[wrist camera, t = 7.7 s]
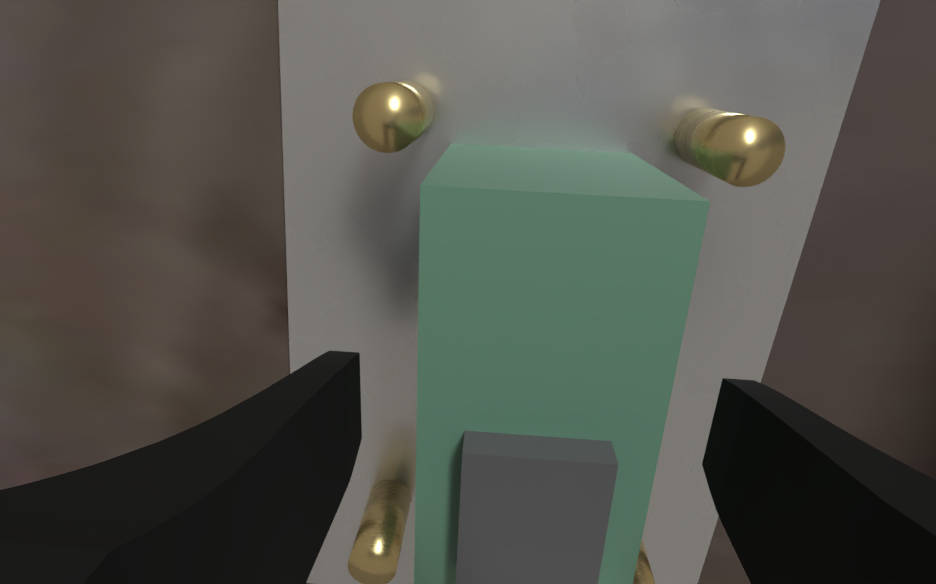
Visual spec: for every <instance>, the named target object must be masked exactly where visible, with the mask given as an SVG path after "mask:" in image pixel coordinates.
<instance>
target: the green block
mask: <svg viewBox="0 0 936 584" xmlns="http://www.w3.org/2000/svg"><path fill="white" fill-rule="evenodd" d="M709 206H710V201H709V200H707V199H705V198H704V197H702V196H701V195H699V194H697V193H696V192H694V191H692V190H691V189H689V188H688V187H686V186H684V185H683V184H681V183H680V182H678V181H676V180H675V179H673V178H671V177H670V176H668V175H667V174H665V173H663V172H662V171H660V170H658V169H657V168H655V167H654V166H652V165H650V164H649V163H647V162H646V161H644V160H642V159H641V158H639V157H637V156H636V155H634V154H633V153H615V152H596V151H578V150H559V149H541V148H522V147H504V146H485V145H467V144H450V145H449V147H448V148H447V149H446V151H445V152H444V153H443V155H442V156H441V158H440V159H439V160H438V162H437V163H436V164H435V166H434V167H433V168H432V170H431V171H430V172H429V174H428V175H427V176H426V178H425V179H424V181H423V182H422V183H421V185H420V228H419V293H418V358H417V424H416V489H415V554H414V584H633V580H634V575H635V570H636V565H637V560H638V555H639V550H640V546H641V541H642V536H643V531H644V526H645V521H646V516H647V511H648V506H649V501H650V496H651V491H652V486H653V482H654V477H655V472H656V467H657V462H658V457H659V452H660V447H661V442H662V437H663V432H664V427H665V422H666V418H667V413H668V408H669V403H670V398H671V393H672V388H673V383H674V378H675V373H676V368H677V363H678V358H679V354H680V349H681V344H682V339H683V334H684V329H685V324H686V319H687V314H688V309H689V304H690V299H691V294H692V290H693V285H694V280H695V275H696V270H697V265H698V260H699V255H700V250H701V245H702V240H703V235H704V230H705V225H706V221H707V216H708V211H709Z"/></svg>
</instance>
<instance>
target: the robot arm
mask: <svg viewBox="0 0 936 584" xmlns="http://www.w3.org/2000/svg"><path fill="white" fill-rule="evenodd" d="M361 439H362V423H361V386H360V353H358V352H344V351H328V352H326V353H324V354H322V355H320V356H319V357H317V358H315V359H314V360H312V361H310V362H309V363H307V364H305V365H304V366H302V367H301V368H299V369H297V370H296V371H294V372H293V373H291V374H289V375H288V376H286V377H284V378H283V379H281V380H280V381H278V382H276V383H275V384H273V385H271V386H270V387H268V388H267V389H265V390H263V391H261V392H260V393H258V394H256V395H254V396H252V397H251V398H249V399H247V400H245V401H243V402H241V403H240V404H238V405H236V406H234V407H232V408H231V409H229V410H227V411H225V412H223V413H221V414H219V415H217V416H215V417H213V418H211V419H209V420H207V421H205V422H203V423H201V424H199V425H197V426H195V427H192V428H190V429H188V430H185V431H183V432H181V433H178V434H176V435H174V436H172V437H169V438H167V439H164V440H162V441H159V442H157V443H154V444H151V445H149V446H146V447H143V448H140V449H137V450H135V451H132V452H129V453H126V454H124V455H121V456H118V457H115V458H112V459H110V460H107V461H104V462H101V463H98V464H95V465H92V466H88V467H85V468H82V469H78V470H75V471H72V472H68V473H65V474H61V475H58V476H54V477H50V478H47V479H43V480H39V481H36V482H32V483H28V484H24V485H20V486H16V487H12V488H8V489H4V490H0V584H306V582H307V580H308V577H309V575H310V573H311V570H312V568H313V566H314V563H315V561H316V559H317V556H318V554H319V552H320V550H321V547H322V545H323V543H324V540H325V538H326V536H327V533H328V531H329V529H330V527H331V524H332V522H333V520H334V517H335V515H336V513H337V510H338V508H339V506H340V503H341V501H342V499H343V496H344V494H345V492H346V489H347V487H348V484H349V482H350V479H351V476H352V472H353V469H354V465H355V462H356V458H357V454H358V451H359V447H360V443H361ZM702 466H703V469H704V473H705V476H706V480H707V483H708V486H709V490H710V493H711V496H712V499H713V502H714V505H715V508H716V511H717V513H718V515H719V517H720V519H721V522H722V524H723V526H724V528H725V530H726V532H727V534H728V537H729V539H730V541H731V543H732V545H733V547H734V549H735V551H736V553H737V555H738V558H739V560H740V562H741V564H742V566H743V568H744V570H745V572H746V574H747V576H748V578H749V580H750V582H751V584H936V480H935V479H933V478H931V477H929V476H927V475H925V474H923V473H921V472H919V471H917V470H915V469H913V468H911V467H909V466H907V465H905V464H904V463H902V462H900V461H898V460H896V459H894V458H892V457H890V456H889V455H887V454H885V453H883V452H881V451H879V450H877V449H876V448H874V447H872V446H870V445H868V444H867V443H865V442H863V441H861V440H860V439H858V438H856V437H854V436H853V435H851V434H849V433H847V432H846V431H844V430H842V429H841V428H839V427H837V426H835V425H834V424H832V423H830V422H829V421H827V420H825V419H824V418H822V417H820V416H819V415H817V414H815V413H813V412H812V411H810V410H808V409H807V408H805V407H803V406H802V405H800V404H798V403H797V402H795V401H793V400H791V399H790V398H788V397H786V396H784V395H783V394H781V393H779V392H777V391H775V390H774V389H772V388H770V387H768V386H766V385H764V384H762V383H759V382H757V381H755V380H742V379H728V378H722V383H721V387H720V391H719V395H718V399H717V403H716V408H715V412H714V416H713V420H712V424H711V428H710V433H709V437H708V441H707V445H706V449H705V454H704V458H703V462H702Z"/></svg>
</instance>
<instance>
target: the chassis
mask: <svg viewBox="0 0 936 584" xmlns="http://www.w3.org/2000/svg"><path fill="white" fill-rule="evenodd" d="M879 3H880V0H278V13H279V44H280V75H281V105H282V136H283V166H284V197H285V228H286V258H287V289H288V319H289V350H290V374H291V373H293V372H294V371H296V370H297V369H299V368H301V367H302V366H304V365H305V364H307V363H309V362H310V361H312V360H314V359H315V358H317V357H319V356H320V355H322V354H324V353H326V352H328V351H344V352H358V353H360V386H361V423H362V439H361V443H360V447H359V451H358V454H357V458H356V462H355V465H354V469H353V472H352V476H351V479H350V482H349V484H348V487H347V489H346V492H345V494H344V496H343V499H342V501H341V503H340V506H339V508H338V510H337V513H336V515H335V517H334V520H333V522H332V524H331V527H330V529H329V531H328V533H327V536H326V538H325V540H324V543H323V545H322V547H321V550H320V552H319V554H318V556H317V559H316V561H315V563H314V566H313V568H312V570H311V573H310V575H309V577H308V580H307V582H306V583H311V584H414V554H415V489H416V424H417V358H418V293H419V228H420V185H421V183H422V182H423V181H424V179H425V178H426V176H427V175H428V174H429V172H430V171H431V170H432V168H433V167H434V166H435V164H436V163H437V162H438V160H439V159H440V158H441V156H442V155H443V153H444V152H445V151H446V149H447V148H448V147H449V145H450V144H467V145H485V146H504V147H522V148H541V149H559V150H578V151H596V152H615V153H633V154H634V155H636V156H637V157H639V158H641V159H642V160H644V161H646V162H647V163H649V164H650V165H652V166H654V167H655V168H657V169H658V170H660V171H662V172H663V173H665V174H667V175H668V176H670V177H671V178H673V179H675V180H676V181H678V182H680V183H681V184H683V185H684V186H686V187H688V188H689V189H691V190H692V191H694V192H696V193H697V194H699V195H701V196H702V197H704V198H705V199H707V200H709V201H710V206H709V211H708V216H707V221H706V225H705V230H704V235H703V240H702V245H701V250H700V255H699V260H698V265H697V270H696V275H695V280H694V285H693V290H692V294H691V299H690V304H689V309H688V314H687V319H686V324H685V329H684V334H683V339H682V344H681V349H680V354H679V358H678V363H677V368H676V373H675V378H674V383H673V388H672V393H671V398H670V403H669V408H668V413H667V418H666V422H665V427H664V432H663V437H662V442H661V447H660V452H659V457H658V462H657V467H656V472H655V477H654V482H653V486H652V491H651V496H650V501H649V506H648V511H647V516H646V521H645V526H644V531H643V536H642V541H641V546H640V550H639V555H638V560H637V565H636V570H635V575H634V580H633V584H697V583H698V580H699V577H700V574H701V570H702V567H703V564H704V561H705V558H706V555H707V551H708V548H709V545H710V542H711V539H712V535H713V532H714V529H715V526H716V523H717V519H718V516H719V515H718V513H717V511H716V508H715V505H714V502H713V499H712V496H711V493H710V490H709V486H708V483H707V480H706V476H705V473H704V469H703V466H702V462H703V458H704V454H705V449H706V445H707V441H708V437H709V433H710V428H711V424H712V420H713V416H714V412H715V408H716V403H717V399H718V395H719V391H720V387H721V383H722V378H728V379H742V380H755V381H757V382H759V383H760V382H761V379H762V376H763V373H764V370H765V367H766V363H767V360H768V357H769V354H770V351H771V347H772V344H773V341H774V338H775V335H776V332H777V328H778V325H779V322H780V319H781V316H782V312H783V309H784V306H785V303H786V300H787V296H788V293H789V290H790V287H791V284H792V281H793V277H794V274H795V271H796V268H797V265H798V261H799V258H800V255H801V252H802V249H803V245H804V242H805V239H806V236H807V233H808V230H809V226H810V223H811V220H812V217H813V214H814V210H815V207H816V204H817V201H818V198H819V195H820V191H821V188H822V185H823V182H824V179H825V175H826V172H827V169H828V166H829V163H830V159H831V156H832V153H833V150H834V147H835V144H836V140H837V137H838V134H839V131H840V128H841V124H842V121H843V118H844V115H845V112H846V108H847V105H848V102H849V99H850V96H851V93H852V89H853V86H854V83H855V80H856V77H857V73H858V70H859V67H860V64H861V61H862V57H863V54H864V51H865V48H866V45H867V42H868V38H869V35H870V32H871V29H872V26H873V22H874V19H875V16H876V13H877V10H878V7H879Z"/></svg>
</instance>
